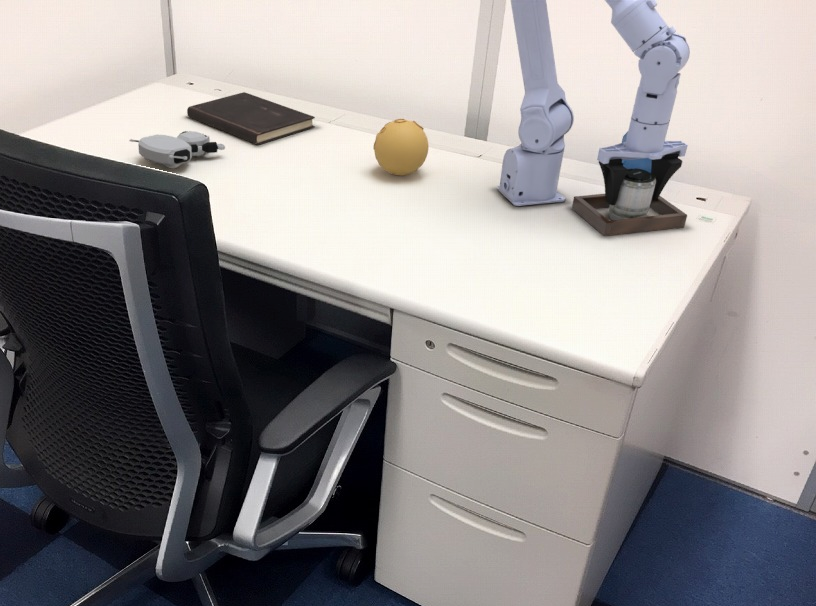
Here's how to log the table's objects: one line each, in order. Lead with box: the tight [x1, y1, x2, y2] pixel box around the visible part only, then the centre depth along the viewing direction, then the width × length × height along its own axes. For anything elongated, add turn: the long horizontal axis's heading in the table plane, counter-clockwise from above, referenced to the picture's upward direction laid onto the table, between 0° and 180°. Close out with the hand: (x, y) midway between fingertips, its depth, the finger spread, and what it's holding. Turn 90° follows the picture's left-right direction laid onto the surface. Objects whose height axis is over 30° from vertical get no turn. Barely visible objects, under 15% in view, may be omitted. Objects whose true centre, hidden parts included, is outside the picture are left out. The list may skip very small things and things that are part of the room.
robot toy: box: [129, 130, 226, 169], centre depth 162 cm, size 12×4×15 cm
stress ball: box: [373, 118, 430, 176], centre depth 155 cm, size 10×10×10 cm
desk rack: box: [571, 193, 688, 237], centre depth 142 cm, size 14×11×2 cm
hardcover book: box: [186, 91, 316, 146], centre depth 180 cm, size 16×23×2 cm
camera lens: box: [608, 168, 656, 220], centre depth 140 cm, size 6×6×8 cm
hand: (631, 200), depth 141 cm, fingers open, 7 cm apart
